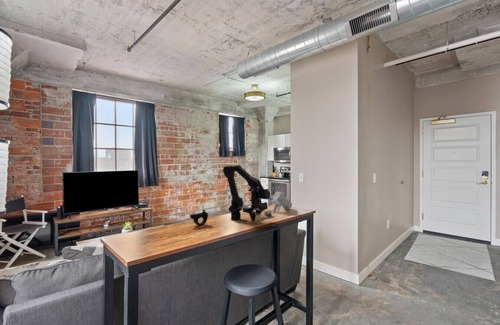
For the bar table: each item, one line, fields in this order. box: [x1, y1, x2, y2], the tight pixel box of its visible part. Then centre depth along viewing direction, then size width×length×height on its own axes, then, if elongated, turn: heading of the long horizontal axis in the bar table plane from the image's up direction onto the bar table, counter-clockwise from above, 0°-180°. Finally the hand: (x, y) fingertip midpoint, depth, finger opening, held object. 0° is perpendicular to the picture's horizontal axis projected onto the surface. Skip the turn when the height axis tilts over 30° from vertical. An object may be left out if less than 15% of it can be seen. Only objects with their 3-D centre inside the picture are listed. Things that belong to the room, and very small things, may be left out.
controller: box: [189, 209, 209, 226], centre depth 164 cm, size 4×12×10 cm, turn 122°
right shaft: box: [263, 209, 273, 218], centre depth 186 cm, size 6×4×5 cm, turn 145°
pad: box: [261, 215, 270, 221], centre depth 180 cm, size 8×6×1 cm
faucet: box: [271, 191, 293, 214], centre depth 203 cm, size 6×16×20 cm
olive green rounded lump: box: [249, 213, 262, 225], centre depth 169 cm, size 6×4×6 cm, turn 44°
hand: (255, 220), depth 169 cm, fingers closed on olive green rounded lump, 4 cm apart
